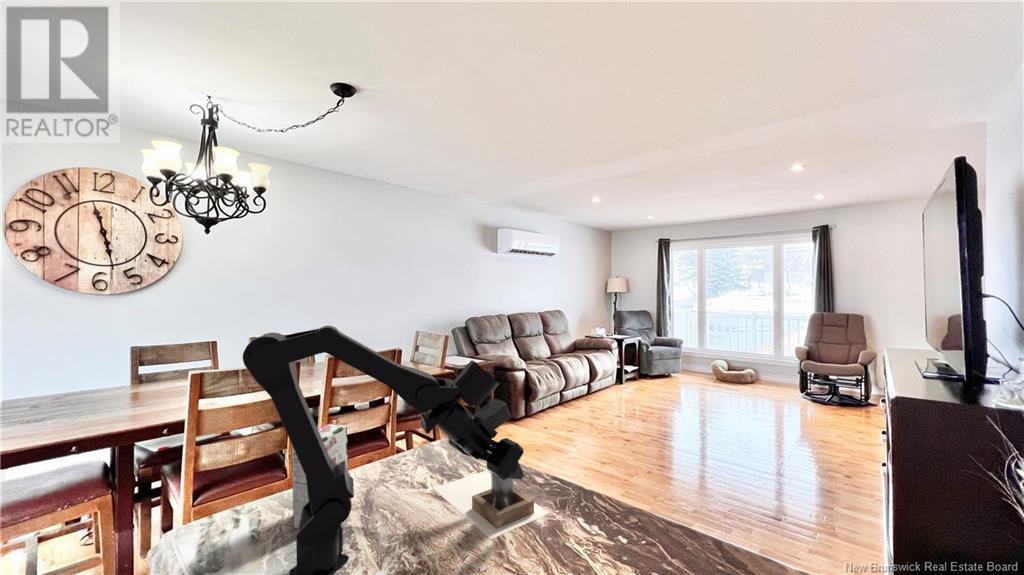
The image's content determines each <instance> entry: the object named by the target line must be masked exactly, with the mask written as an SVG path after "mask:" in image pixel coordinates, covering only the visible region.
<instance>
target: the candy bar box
mask: <svg viewBox="0 0 1024 575" xmlns="http://www.w3.org/2000/svg"><path fill="white" fill-rule="evenodd" d="M317 429H318V431H319V433H320V436H321V438H322V440H323V443H324V445H325V447H326V450H327V452H328V454H329V456H330V458H331V459H332V460H333V461H334V462H335V463H336V464H337V465H338V464H339V463H341V462H342V461H345V462H346V467H347V471H348V472H349V466H348V465H349V464H348V463H349V462H348V461H349V460H348V456H349V455H348V453H349V452H348V425H347V424H338V423H336V424H335V423H327V424H326V425H324V426H322V427H320V428H317ZM290 444H291V443H290ZM290 446H291V449H290V450H291V477H292V478H291V480H292V481H291V482H292V484H291V486H292V514H293V515H292V520H293V522H292V523H293V529H296V530H298V527H299V522H300V517H301V512H302V508H303V507H304V506H305V505H306V503H307V502H308V501H309V499H308V491H307V482H306V476H305V473H304V471H303V469H302V467H301V464H300V462H299V460H298V457H297V455H296V453H295V451H294V448H293V446H292V444H291V445H290Z"/></svg>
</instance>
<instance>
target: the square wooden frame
mask: <svg viewBox="0 0 1024 575" xmlns="http://www.w3.org/2000/svg"><path fill="white" fill-rule="evenodd" d="M534 503H535V500H534V499H533V498H531V497H530V496H528V495H527V494H525V493H523V492H522V491H520V490H519V489H517V488H515V487H514V504H513V505H511V506H509V507H506V508H504V509H501V510H497V509H496V508H495V507H493V506H492V505H491V489H490V490H487V491H484V492H482V493H479V494H476V495H473V496H472V509H473V510H475V511H476V512H477V513H478V514H480V515H481V516H482V517H483V518H484V519H486V520H487V521H488V522H489V523H490V524H492V525H493V526H494V527H495V528H496V529H498V528H501V527H503V526H505V525H508V524H510V523H512V522H514V521H517V520H519V519H521V518H524V517H526V516H528V515H531V514H533V513H534Z"/></svg>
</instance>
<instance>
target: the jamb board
mask: <svg viewBox="0 0 1024 575" xmlns="http://www.w3.org/2000/svg"><path fill="white" fill-rule="evenodd" d="M490 489H491V472H489V471H487V470H484V471H480V472H478V473H474V474H472V475H469V476H466V477H463V478H459V479H456V480H454V481H450V482H446V483H444V484H441V485H439V486H435V487H432V490H433V491H435V492H436V493H437V494H438V495H439V496H440V497H442V498H443V499H444V500H445V501H446V502H447V503H449V504H450V505H451V507H453V508H454V509H456V510H457V512H459V513H460V514H461V515H462V516H463V517H464V518H466V520H468V521H469V522H470V523H471V524H472V525H473V526H474V527H476V529H478V530H479V531H480V532H482V534H484V535H485V536H486V537H487V538H488V539H489V540H492V539H493V540H494V539H495V538H497V537H499V536H502V535H504V534H506V533H508V532H511V531H513V530H515V529H518V528H521V526H524V525H526V524H528V523H531V522H533V521H535V520H537V519H539V518H542V517H544V516H547V515H549V514H550V511H548V510H546V509H545V508H543V507H541V506H540V505H539V504H538V503H536V502H534V513H533V514H531V515H528V516H526V517H524V518H521V519H519V520H517V521H514V522H512V523H510V524H508V525H505V526H503V527H501V528H498V529H496V528H495V527H494V526H493V525H492V524H490V523H489V522H488V521H487V520H486V519H484V518H483V517H482V516H481V515H480V514H478V513H477V512H476V511H475V510H473V509H472V496H473V495H476V494H479V493H482V492H484V491H487V490H490Z"/></svg>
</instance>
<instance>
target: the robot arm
mask: <svg viewBox="0 0 1024 575" xmlns="http://www.w3.org/2000/svg"><path fill="white" fill-rule="evenodd" d="M323 353H325V354H328V355H330V356H332V357H334V358H335V359H337V360H338V361H340V362H342V363H344V364H346V365H348V366H351V367H352V368H354V369H356V370H358V371H360V372H361V373H363V374H366V376H367V375H368V376H369V377H370V378H373V379H374V380H376V381H378V382H380V383H382V384H384V385H386V386H387V387H388V388H390V389H391V390H392V391H393V392H394V393H395V394H396V395H398V397H399V398H401V399H402V400H404V402H406V403H407V404H408V405H409V406H411V408H413V409H415V411H418V412H421V414H420V416H421V419H420V424H419V425H420V427H421V428H422V430H423V431H424V433H425V434H427V435H428V434H430V433H431V432H432V431H433V430H434V428H435V427H437V428H438V429H439V430H440V431H441V432H443V433H444V434H445V435H446V436H447V438H448V444H449V445H450V446H451V447H452V448H454V450H456V451H457V452H459V453H461V454H462V455H465V456H468V457H470V458H473V459H475V460H476V461H478V460H482V461H485V462H486V469H488V471H489V472H490V473H491V472H492V473H494V474H495V475H496V476H498V477H499V478H501V479H502V480H505V479H507V478H512V479H514V480H522V479H523V478H524V476H525V473H524V471H523V469H522V467H521V465H520V463H519V461H520V459H521V458H522V456H523V454H525V452H524V448H523V447H522V446H521V445H520V444H519V443H517V442H516V441H514V440H512V439H510V438H507V437H505V438H502V439H500V442H499V441H496V440H495V438H496V437H497V435H498V433H499V432H498V431H497V430H496V429H498V428H499V427H501V426H502V425H503V424H504V423H505V422H507V421H510V419H511V418H512V415H511V413H510V411H509V408H508V406H507V404H506V402H505V401H503V400H500V399H498V398H489V396H490V395H491V394H492V393H493V391H494V390H495V389H496V388H497V387H498V386H499V384H500V383H499V382H498V380H497V379H496V378H495V377H494V376H493V375H492V374H491V373H489V372H488V371H486V370H485V369H484V368H482V367H481V365H479V364H478V363H477V361H474V360H472V359H471V360H470V361H469V362H468V363H467V364H466V366H465V367H464V369H463V370H462V371H461V372H460V373H459V374H458V375H457V377H455V379H454V380H452V379H450V378H441V377H434V376H433V375H432V374H430V373H428V372H426V371H423V370H419V369H417V368H414V367H412V366H408V365H407V366H406V365H402V364H399V363H397V362H395V361H393V360H391V359H390V358H388V357H386V356H385V355H382V354H381V353H378V351H375V350H373V349H372V348H370V347H368V346H367V345H364V344H362V343H361V342H359V341H357V340H355V339H353V338H352V337H350V336H348V335H347V334H344V333H343V332H341V331H340V330H339V329H338V328H336V327H335V326H333V325H324V326H321V327H318V328H315V329H310V330H304V331H300V332H293V333H289V334H286V335H284V334H281V333H279V332H267V333H264V334H262V335H260V336H258V337H257V338H255V339H253V340H251V341H250V342H249V343H248V344H246V347H245V348H244V351H243V353H242V361H243V362H242V363H243V364H244V366H245V368H246V369H247V372H248V373H249V374H250V375H251V377H253V380H255V382H256V384H257V385H258V386H259V387H261V388H262V390H264V391H265V392H266V393H267V395H269V397H270V399H271V400H272V403H273V404H274V407H275V410H276V411H277V414H278V416H279V419H280V422H281V423H282V425H283V427H284V429H285V433H286V434H287V437H288V439H289V442H290V444H292V446H293V448H294V451H295V453H296V455H297V457H298V460H299V462H300V464H301V467H302V469H303V471H304V473H305V476H306V482H307V491H308V499H309V501H308V502H307V503H306V505H305V506H304V507H303V508H302V512H301V517H300V522H299V527H298V529H297V532H296V539H295V541H296V545H295V547H296V550H295V551H296V553H295V554H296V555H295V556H296V565H295V566H293V567H292V568H291V569H290V570H289V571H288V574H289V575H332V574H334V573H335V572H337V570H339V569H340V568H341V567H342V566H343V565H345V564H346V563H347V562H348V561H349V559H350V556H349V555H348V554H343V551H344V548H343V547H344V545H343V544H344V543H343V542H344V539H343V536H344V534H343V527H342V523H344V522H345V521H346V520H347V519H348V517H349V515H350V514H351V511H352V508H353V507H352V499H353V498H354V496H355V493H354V492H355V490H354V478H353V477H352V475H350V473H349V470H348V471H347V467H346V462H345V461H342V462H341V463H339V464H338V465H337V464H336V463H335V462H334V461H333V460H332V459H331V458H330V456H329V454H328V452H327V450H326V447H325V445H324V443H323V440H322V438H321V436H320V433H319V431H318V429H319V428H318V427H317V424H316V422H315V420H314V416H313V415H312V411H311V410H310V408H309V405H308V403H307V401H306V398H305V395H304V394H303V391H302V389H301V386H300V385H299V380H298V375H297V373H298V372H297V367H296V366H297V364H296V362H297V361H300V360H303V359H307V358H310V357H314V356H316V355H320V354H323ZM487 398H489V399H487ZM460 399H461V400H462V401H463V402H464V403H465V404H466V405H467V406H469V407H470V408H472V407H474V408H475V413H474V414H473V413H472V412H470V410H468V409H467V408H466V406H464V405H463V403H461V402H460ZM498 442H499V443H498ZM492 446H493V447H492ZM494 447H495V448H494Z"/></svg>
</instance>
